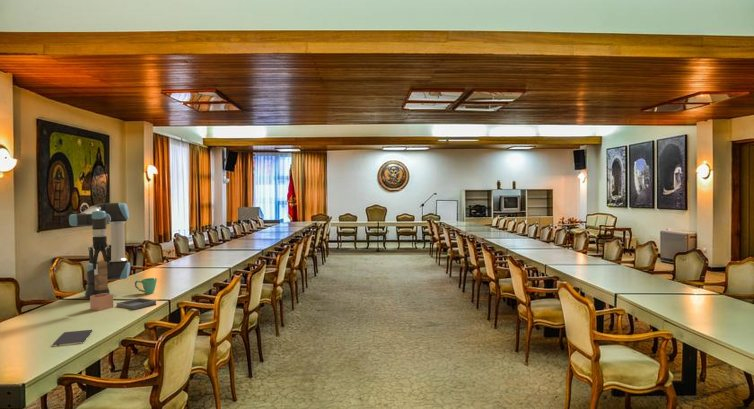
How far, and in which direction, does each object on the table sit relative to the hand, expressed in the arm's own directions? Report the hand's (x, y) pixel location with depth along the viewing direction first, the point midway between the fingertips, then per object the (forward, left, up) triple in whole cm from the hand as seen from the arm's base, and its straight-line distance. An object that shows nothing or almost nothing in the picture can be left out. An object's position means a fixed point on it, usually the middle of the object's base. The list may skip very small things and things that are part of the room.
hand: (100, 273), depth 300 cm
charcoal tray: (+12, +15, -22) cm, 29 cm away
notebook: (+45, -42, -23) cm, 66 cm away
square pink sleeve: (0, 0, -22) cm, 22 cm away
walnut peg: (0, 0, -10) cm, 10 cm away
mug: (-18, +43, -23) cm, 52 cm away
